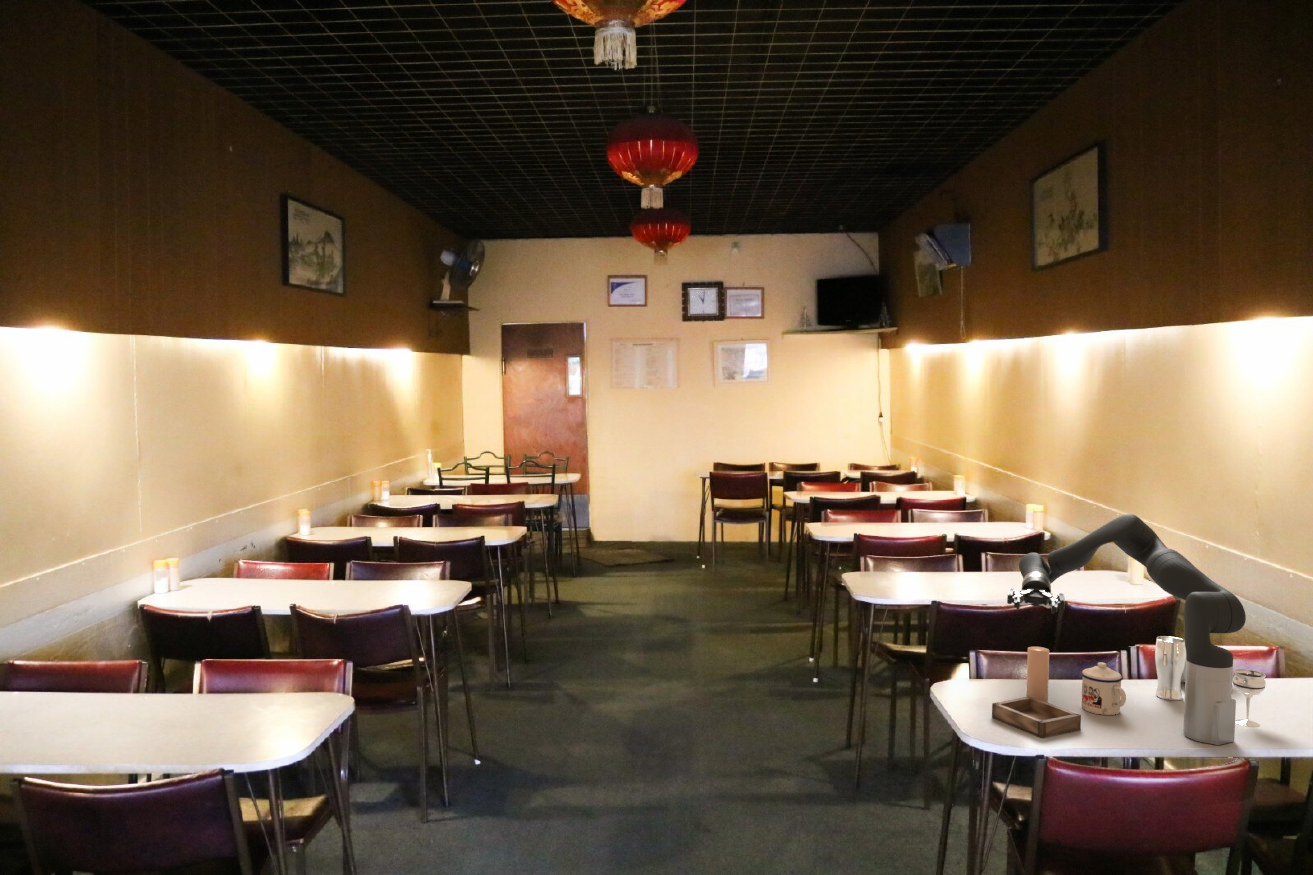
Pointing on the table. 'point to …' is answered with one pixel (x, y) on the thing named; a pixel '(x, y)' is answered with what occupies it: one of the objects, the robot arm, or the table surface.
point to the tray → (1036, 717)
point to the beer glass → (1170, 666)
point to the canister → (1038, 673)
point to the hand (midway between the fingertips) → (1035, 608)
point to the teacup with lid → (1102, 690)
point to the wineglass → (1248, 689)
